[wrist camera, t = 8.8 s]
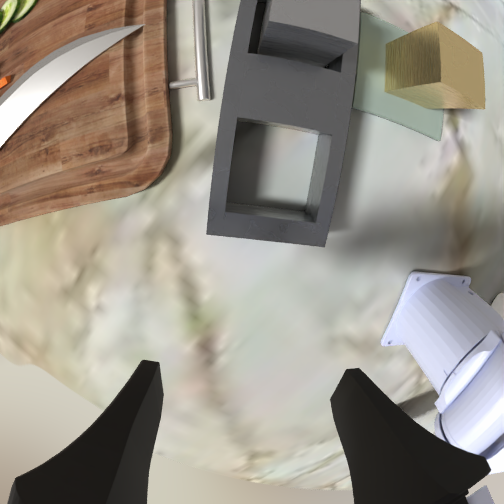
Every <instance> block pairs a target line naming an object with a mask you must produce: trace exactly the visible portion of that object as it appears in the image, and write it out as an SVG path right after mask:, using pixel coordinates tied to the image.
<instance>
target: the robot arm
mask: <svg viewBox="0 0 504 504" xmlns="http://www.w3.org/2000/svg"><path fill="white" fill-rule="evenodd" d="M418 276H419V277H418ZM417 277H418V278H417ZM470 283H471V278H470V277H469V276H460V275H449V274H438V273H427V272H416V271H414V272H412V273H411V274H410V275H409V277H408V280H407V282H406V285H405V287H404V290H403V292H402V295H401V297H400V300H399V302H398V304H397V307H396V309H395V311H394V314H393V316H392V318H391V320H390V323H389V325H388V327H387V329H386V331H385V333H384V335H383V337H382V339H381V342H380V343H381V345H382V346H393V345H404V344H405V346H406V347H407V349H408V350H409V351H410V353H411V354H412V356H413V357H414V359H415V360H416V361H417V363H418V364H419V366H420V367H421V369H422V370H423V372H424V373H425V375H426V376H427V378H428V379H429V381H430V382H431V384H432V385H433V387H434V389H435V390H436V392H437V393H438V395H439V398H438V399H437V401H436V402H435V403H434V404H435V406H436V407H437V409H438V411H439V412H438V414H437V415H436V418H435V434H436V436H435V435H433V434H432V433H430V432H429V431H427V430H426V429H425V428H423V427H422V426H420V425H419V424H418V423H416V422H415V421H414V420H413V419H411V418H410V417H409V416H408V415H407V414H406V413H404V412H403V411H402V410H401V409H400V408H399V407H398V406H397V405H396V404H395V403H394V402H392V401H391V400H390V399H389V398H388V397H387V396H386V395H385V394H384V393H383V392H382V391H381V390H380V389H379V388H378V387H377V386H376V385H375V383H374V382H373V381H372V380H371V379H370V378H369V377H368V376H367V375H366V374H365V373H364V372H363V371H362V370H361V369H359V368H355V369H346V371H345V373H344V375H343V377H342V378H341V380H340V382H339V384H338V386H337V388H336V390H335V391H334V393H333V395H332V397H331V399H330V401H331V407H332V413H333V418H334V422H335V425H336V428H337V431H338V434H339V437H340V440H341V443H342V446H343V449H344V452H345V456H346V459H347V462H348V466H349V470H350V475H351V481H352V487H353V495H354V504H494V502H493V499H492V497H491V495H490V492H489V490H488V488H487V486H484V487H482V488H480V489H479V490H477V491H476V492H474V493H473V494H472V495H470V496H468V497H467V498H466V497H465V496H466V495H467V494H468V493H469V492H468V489H469V488H471V487H472V486H473V485H475V484H476V483H477V482H479V481H480V480H481V479H483V478H484V477H485V476H486V475H488V474H494V473H499V472H504V320H503V318H502V317H501V315H500V314H499V313H498V312H497V311H495V310H494V309H493V308H492V307H491V306H490V305H489V304H488V303H486V302H485V301H484V300H483V299H482V298H481V297H480V296H478V295H477V294H476V293H475V292H474V291H473V290H471V289H470V288H469V285H470ZM163 396H164V393H163V387H162V379H161V372H160V364H159V362H154V361H148V360H142V361H141V362H140V364H139V365H138V367H137V368H136V370H135V371H134V373H133V374H132V376H131V377H130V379H129V380H128V382H127V383H126V384H125V386H124V387H123V388H122V390H121V391H120V392H119V393H118V395H117V396H116V397H115V399H114V400H113V401H112V402H111V404H110V405H109V406H108V407H107V408H106V409H105V411H104V412H103V413H102V414H101V415H100V416H99V417H98V419H97V420H96V421H95V422H94V423H93V424H92V425H91V426H90V427H89V428H88V429H87V430H86V431H85V432H84V433H83V434H82V435H80V437H78V438H77V439H76V440H75V441H74V442H72V443H71V444H70V445H69V446H67V447H66V448H65V449H64V450H62V451H61V452H60V453H58V454H57V455H55V456H54V457H52V458H51V459H49V460H48V461H46V462H45V463H43V464H42V465H40V466H38V467H36V468H34V469H33V470H30V471H29V472H27V473H25V474H23V475H21V476H18V477H16V478H15V481H14V483H13V485H12V488H11V492H10V496H9V500H8V504H147V491H148V490H147V489H148V477H149V469H150V462H151V458H152V453H153V449H154V445H155V440H156V436H157V432H158V428H159V423H160V419H161V412H162V404H163Z"/></svg>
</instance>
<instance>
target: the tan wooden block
mask: <svg viewBox="0 0 504 504" xmlns="http://www.w3.org/2000/svg"><path fill="white" fill-rule="evenodd" d="M384 92H386V93H389V94H391V95H394V96H397V97H399V98H402V99H405V100H407V101H410V102H412V103H415V104H417V105H419V106H422V107H424V108H426V109H442V108H462V109H485V81H484V66H483V56H482V52H480V51H479V50H478V49H476V48H475V47H474V46H473V45H471V44H470V43H469V42H467V41H466V40H464V39H463V38H462V37H460V36H459V35H457V34H456V33H454V32H453V31H451V30H450V29H448V28H447V27H445V26H444V25H442V24H440V23H439V22H435V23H432V24H430V25H427V26H425V27H422V28H420V29H417V30H415V31H413V32H410V33H408V34H406V35H404V36H401V37H399V38H397V39H395V40H393V41H391V42H388V43H386V63H385V89H384Z"/></svg>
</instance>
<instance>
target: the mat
mask: <svg viewBox="0 0 504 504" xmlns="http://www.w3.org/2000/svg"><path fill="white" fill-rule="evenodd" d="M406 34H408V32H406V31H404V30H402V29H400V28H398V27H396V26H394V25H392V24H390V23H388V22H385V21H383V20H381V19H379V18H376V17H374V16H372V15H369V14H367V13H364V12H360V27H359V43H358V55H357V66H356V75H355V84H354V93H353V100H352V108H354V109H357V110H361V111H364V112H367V113H370V114H373V115H376V116H378V117H381V118H384V119H387V120H389V121H392V122H395V123H397V124H400V125H402V126H405V127H407V128H410V129H412V130H414V131H417V132H419V133H421V134H424V135H426V136H428V137H430V138H432V139H434V140H437V141H440V139H441V131H442V123H443V113H444V108H442V109H426V108H424V107H422V106H419V105H417V104H415V103H412V102H410V101H407V100H405V99H402V98H399V97H397V96H394V95H391V94H389V93H386V92H384V89H385V63H386V43H388V42H391V41H393V40H395V39H397V38H399V37H401V36H404V35H406Z"/></svg>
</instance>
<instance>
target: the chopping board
mask: <svg viewBox="0 0 504 504" xmlns="http://www.w3.org/2000/svg"><path fill="white" fill-rule="evenodd" d="M192 9H193V36H194V56H195V73H196V78H191V79H185V80H179V81H173V82H170V84H169V80H168V59H167V0H0V226H3V225H6V224H9V223H13V222H16V221H20V220H24V219H27V218H31V217H35V216H39V215H43V214H46V213H51V212H55V211H59V210H63V209H67V208H72V207H76V206H81V205H86V204H90V203H95V202H100V201H105V200H111V199H116V198H122V197H127V196H130V195H132V194H134V193H137V192H140V191H142V190H145V189H146V188H148V187H149V186H150V185H151V184H152V183H153V182H154V181H155V180H156V179H157V178H158V177H159V176H160V175H162V173H163V171H164V169H165V167H166V165H167V163H168V161H169V159H170V157H171V149H172V138H173V132H172V121H171V109H170V96H169V85H170V89H171V90H172V89H178V88H184V87H190V86H196V87H197V101H199V102H200V101H208V100H210V99H211V97H210V84H209V69H208V54H207V38H206V19H205V0H192Z"/></svg>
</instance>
